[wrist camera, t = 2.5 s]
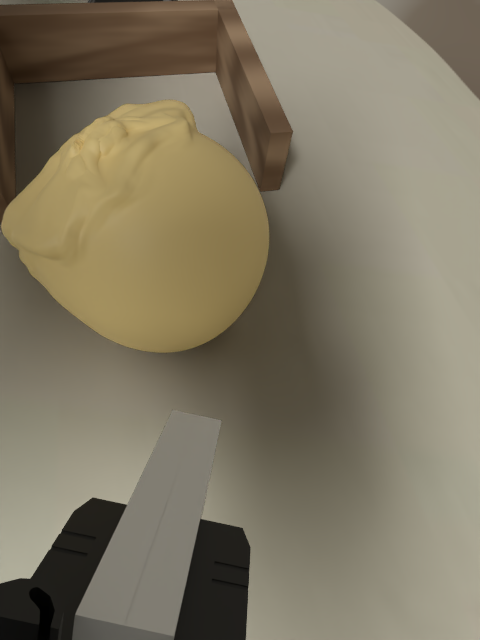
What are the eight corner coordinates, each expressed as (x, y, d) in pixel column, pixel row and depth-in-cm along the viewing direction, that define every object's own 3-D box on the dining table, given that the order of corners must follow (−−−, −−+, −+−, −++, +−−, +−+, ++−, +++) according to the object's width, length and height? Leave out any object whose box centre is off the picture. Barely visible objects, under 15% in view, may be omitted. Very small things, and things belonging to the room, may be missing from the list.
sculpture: (133, 193, 30) (105, 31, 21) (284, 264, 28) (328, 122, 19) (21, 313, 25) (-85, 168, 15) (198, 410, 23) (201, 313, 14)
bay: (279, 189, 32) (292, 131, 27) (-9, 223, 28) (-47, 162, 23) (227, 61, 39) (231, -1, 35) (-6, 73, 35) (-34, 5, 31)
